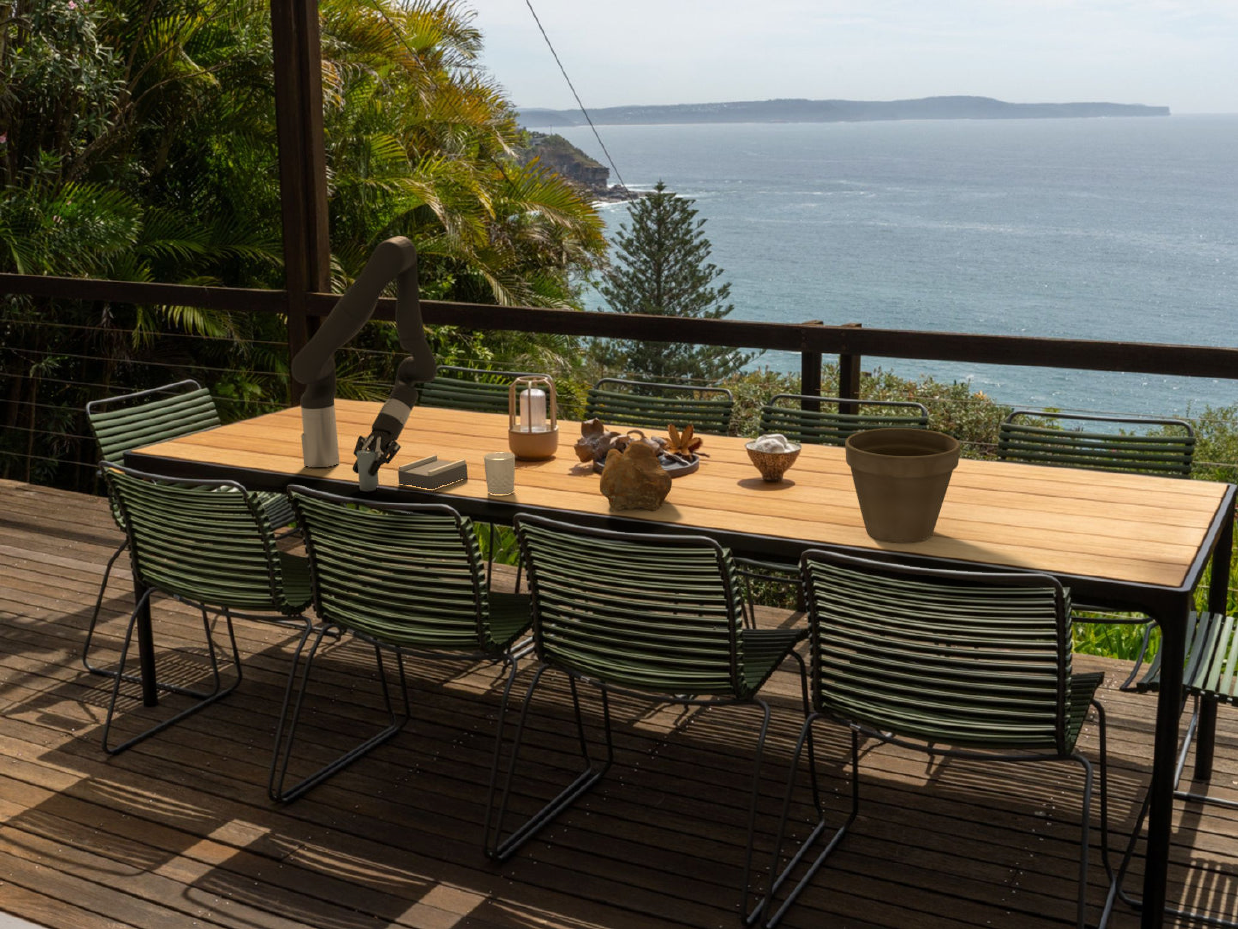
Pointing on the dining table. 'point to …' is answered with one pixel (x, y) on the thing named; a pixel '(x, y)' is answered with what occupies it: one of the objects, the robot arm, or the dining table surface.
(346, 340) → the robot arm
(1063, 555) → the dining table surface
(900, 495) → the plant pot
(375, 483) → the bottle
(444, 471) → the block
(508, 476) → the white cup
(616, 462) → the rough brown rock
